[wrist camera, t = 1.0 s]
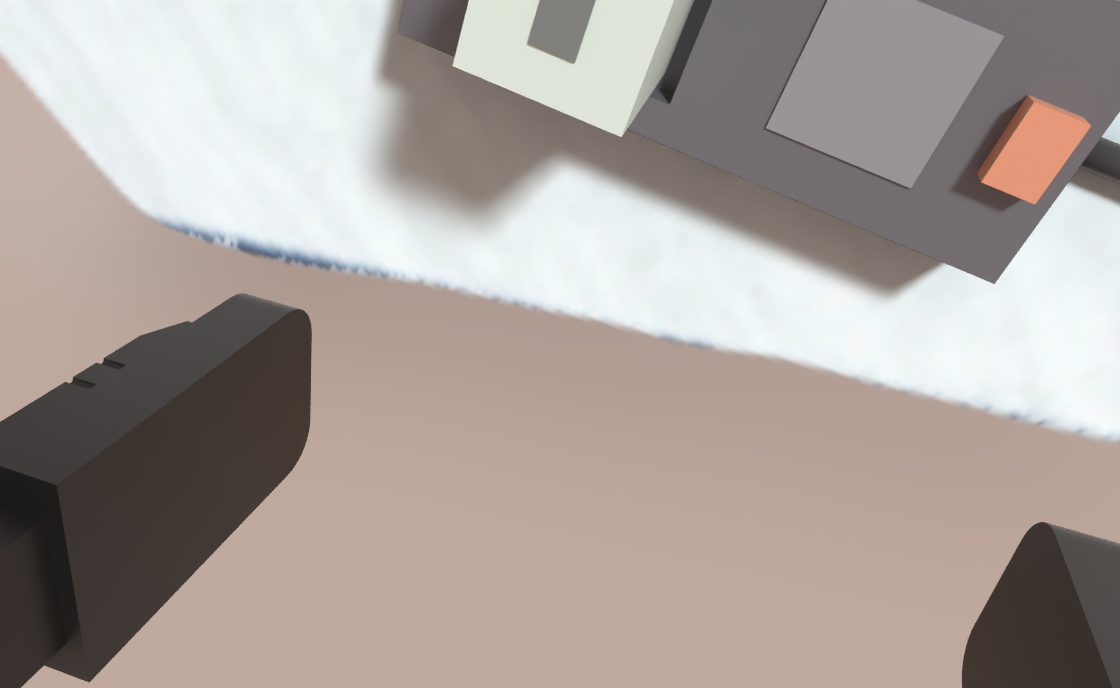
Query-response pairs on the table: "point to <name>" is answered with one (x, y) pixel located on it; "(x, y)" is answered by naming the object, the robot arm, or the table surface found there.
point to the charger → (574, 52)
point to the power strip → (887, 108)
